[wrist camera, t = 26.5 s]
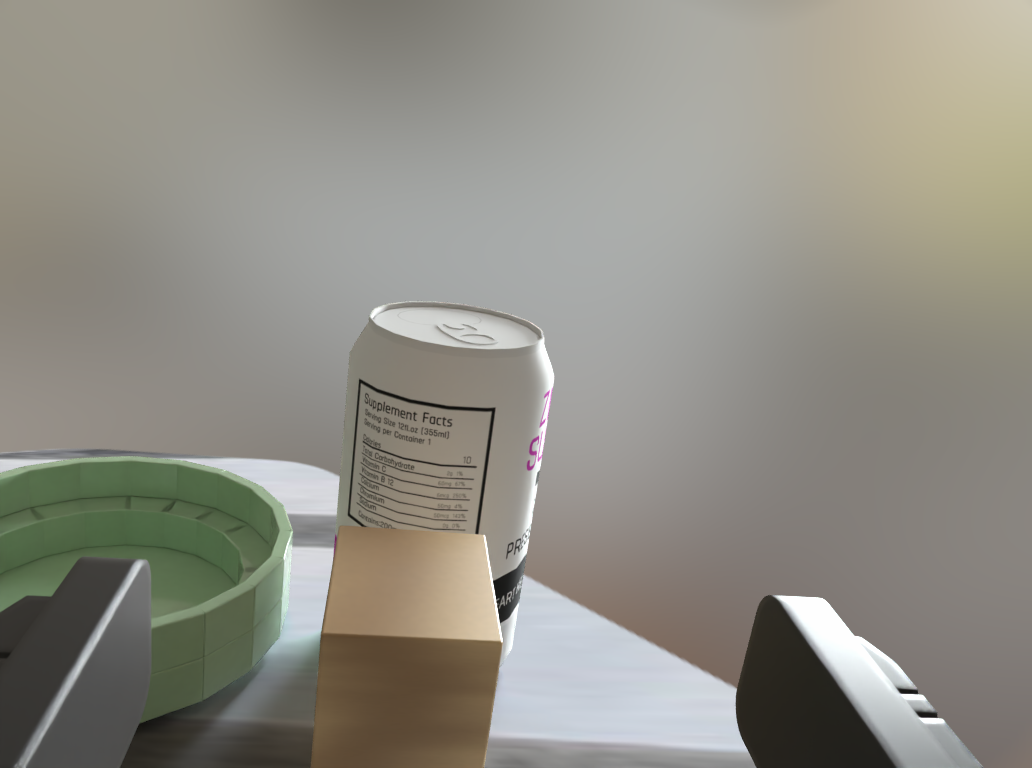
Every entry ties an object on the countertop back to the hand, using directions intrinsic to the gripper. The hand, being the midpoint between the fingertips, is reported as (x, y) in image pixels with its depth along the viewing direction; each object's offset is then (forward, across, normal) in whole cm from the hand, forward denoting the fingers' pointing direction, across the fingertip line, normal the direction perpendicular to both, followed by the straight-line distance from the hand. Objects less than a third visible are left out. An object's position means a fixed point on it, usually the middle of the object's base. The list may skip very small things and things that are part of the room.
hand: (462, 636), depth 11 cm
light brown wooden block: (+11, 0, +17) cm, 20 cm away
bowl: (+24, +12, +17) cm, 32 cm away
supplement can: (+23, -1, +17) cm, 29 cm away
